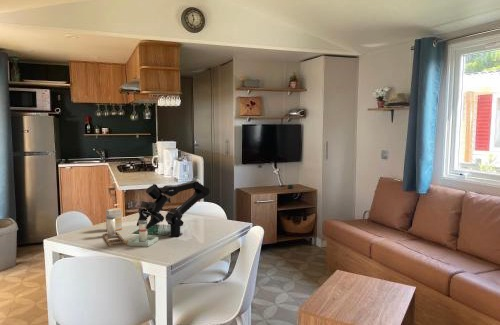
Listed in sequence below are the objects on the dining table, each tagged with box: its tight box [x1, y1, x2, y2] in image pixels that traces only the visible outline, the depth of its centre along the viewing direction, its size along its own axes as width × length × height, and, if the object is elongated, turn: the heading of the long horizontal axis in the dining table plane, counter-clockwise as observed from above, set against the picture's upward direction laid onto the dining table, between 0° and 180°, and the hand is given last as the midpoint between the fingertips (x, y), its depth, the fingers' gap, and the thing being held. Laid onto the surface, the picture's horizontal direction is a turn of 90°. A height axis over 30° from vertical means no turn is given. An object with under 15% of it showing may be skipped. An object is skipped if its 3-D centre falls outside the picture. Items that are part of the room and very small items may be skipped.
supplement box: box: [105, 207, 123, 231], centre depth 237 cm, size 8×5×13 cm, turn 135°
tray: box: [127, 235, 159, 248], centre depth 210 cm, size 12×12×2 cm
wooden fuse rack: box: [102, 231, 129, 247], centre depth 217 cm, size 24×11×1 cm, turn 29°
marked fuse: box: [137, 219, 148, 243], centre depth 210 cm, size 5×5×12 cm
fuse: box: [106, 215, 117, 237], centre depth 223 cm, size 5×5×12 cm
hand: (141, 227), depth 209 cm, fingers open, 9 cm apart
